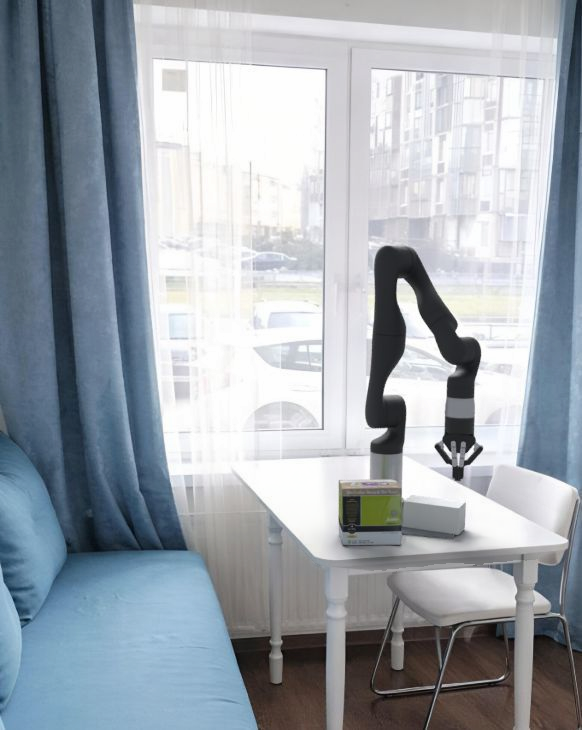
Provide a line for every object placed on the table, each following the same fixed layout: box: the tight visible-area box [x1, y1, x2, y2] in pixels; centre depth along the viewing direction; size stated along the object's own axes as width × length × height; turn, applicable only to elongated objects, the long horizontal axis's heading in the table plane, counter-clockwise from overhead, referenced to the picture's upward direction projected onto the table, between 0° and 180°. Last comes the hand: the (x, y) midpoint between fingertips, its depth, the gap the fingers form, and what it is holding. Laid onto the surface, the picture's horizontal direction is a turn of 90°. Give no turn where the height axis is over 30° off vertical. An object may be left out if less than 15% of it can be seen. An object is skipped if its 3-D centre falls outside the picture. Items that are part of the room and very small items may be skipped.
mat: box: [402, 526, 455, 540], centre depth 219 cm, size 11×19×1 cm, turn 75°
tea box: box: [337, 479, 403, 546], centre depth 209 cm, size 15×10×15 cm
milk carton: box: [402, 494, 467, 536], centre depth 220 cm, size 7×7×19 cm
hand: (457, 480), depth 215 cm, fingers closed
